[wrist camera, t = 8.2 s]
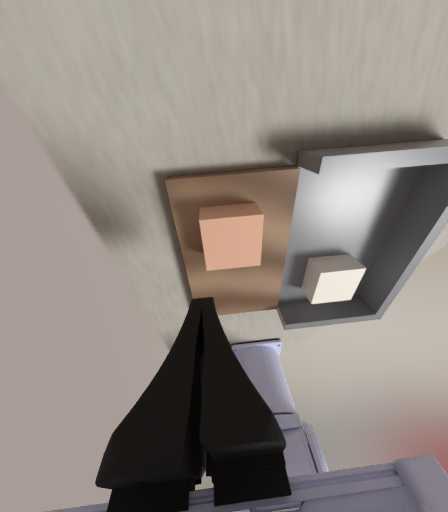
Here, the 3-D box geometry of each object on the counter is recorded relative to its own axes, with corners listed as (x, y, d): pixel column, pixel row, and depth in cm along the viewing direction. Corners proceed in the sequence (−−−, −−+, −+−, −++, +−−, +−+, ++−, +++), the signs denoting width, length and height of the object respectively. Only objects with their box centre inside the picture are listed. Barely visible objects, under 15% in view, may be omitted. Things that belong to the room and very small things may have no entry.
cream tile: (337, 284, 22) (350, 299, 20) (301, 288, 22) (311, 304, 20) (349, 253, 20) (366, 268, 18) (308, 257, 19) (320, 273, 17)
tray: (359, 296, 25) (380, 319, 22) (275, 306, 24) (284, 329, 21) (444, 139, 14) (504, 141, 11) (298, 151, 14) (322, 156, 11)
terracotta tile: (253, 249, 17) (260, 265, 15) (206, 253, 17) (206, 270, 15) (255, 202, 15) (264, 214, 13) (199, 207, 14) (199, 220, 12)
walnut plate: (274, 301, 24) (277, 308, 23) (197, 309, 23) (197, 317, 22) (293, 165, 14) (300, 168, 13) (167, 176, 14) (164, 180, 13)
